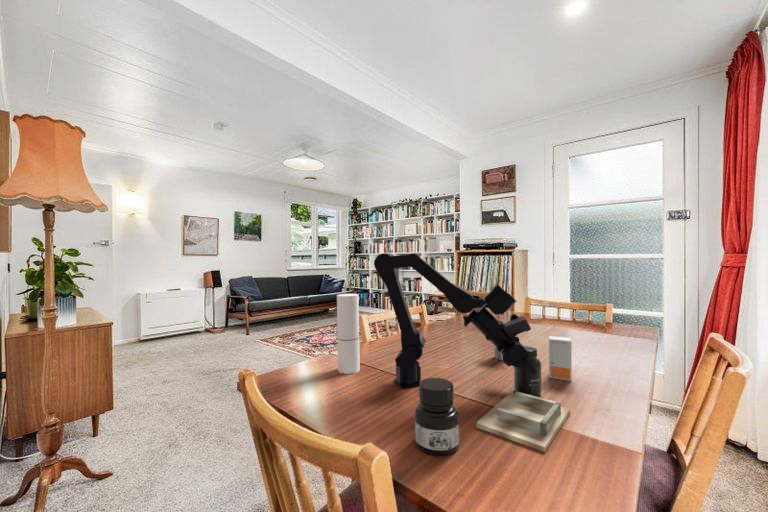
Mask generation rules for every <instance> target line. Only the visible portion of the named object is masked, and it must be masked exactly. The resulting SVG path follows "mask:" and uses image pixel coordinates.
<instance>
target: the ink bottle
mask: <svg viewBox="0 0 768 512" xmlns="http://www.w3.org/2000/svg"><path fill="white" fill-rule="evenodd" d="M418 391H419V392H418V393H419V395H418V396H419V403H418V404H417V406H415V409H414V441H415V445H416V446H417V447H418V449H419V450H420V451H422V452H424V453H427V454H430V455H437V456H445V455H451V454H453V453H455V452H456V451H457V450H459V449H458V448H459V446H460V414H459V411H458V409H457V408H456V406H455V405H454V384H453V382H451V381H450V380H449V379H445V378H441V377H428V378H424V379H421V380H420V382H419V388H418Z"/></svg>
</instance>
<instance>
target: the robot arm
mask: <svg viewBox="0 0 768 512" xmlns="http://www.w3.org/2000/svg"><path fill="white" fill-rule="evenodd" d="M373 265H374V269H375V270H376V272H377V274H378V276H379V277H380V279H381V280H382V282H383V284H385V287H386V290H387V293H388V296H389V299H390V302H391V306H392V308H393V311H394V314H395V317H396V320H397V323H398V326H399V330H400V343H401V349H400V351H399V352H398V354H397V355H396V357H395V376H396V377H395V378H394V379H393V381H394V382H395V383H396V384H397V385H398V386H399V387H400V388H401V389H407V388H412V387H417V386H419V382H421V380H422V377H421V376H422V371H421V370H422V368H421V366H420V362H419V361H418V360H420V359H421V357H422V356H423V354H424V350H425V347H426V342H427V340H426V339H425V337H424V332H423V329H422V328H420V329H417V328H416V326H415V324H414V322H413V318H412V316H411V313H410V310H409V307H408V302H407V300H406V297H405V293H404V291H403V288H402V286H401V285H402V284H401V282H400V271H399V269H402V268H412V269H413V270H415V271H416V272H417V273H418V274H419V275H420V276H422V277H423V278H424V279H426V280H427V282H429V283H430V284H432V286H434V287H435V288H436V289H437V290H438V291H440V292H441V293H442V294H443V295H444V297H445V298H446V300H448V302H449V303H450V304H451V305H452V307H453V308H454V309H455V310H456V312H458V313H460V314H464V315H463V316H462V317H463V318H462V319H463V326H464V327H467V326H469V325H470V323H471V324H472V325H473V326H474V327H475V328H476V329H477V330H478V331H479V332H480V333H481V334H482V335H483V336H484V337H485V340H487V341H489V342H490V343H492V346H493V345H494V346H495V347H496V348H497V350H498V351H499V352H500V351H501V350H503V351H502V352H501V358H502V360H501V361H502V362H503V363H504V364H505V365H506V366H507V367H513V368H514V367H517V368H519V369H522V370H524V371H527V372H529V373H532V374H536V373H537V371H536V369H535V368H534V367H533V365H532V364H531V363H530V361H529V360H528V358H527V357H526V351H527V350H526V348H525V347H524V346H525V345H523V344H522V343H521V342H520V338H519V336H517V335H519V334H521V333H525V332H529V331H531V330H532V328H531V326H530V323H529V322H528V319H527V318H526V317H525V316H524V315H520V316H519V315H517V314H516V313H512V314H511V315H509V320H507V322H503V321H502V320H498V319H497V318H496V317H495V316H497V315H498V316H499V315H501V316H503V315H504V314H505V313H506V312H507V311H508V310H509V309H510V308H512V307H513V306H514V305H515V304H516V303H517V300H516V298H514V297H513V296H512V295H511V294H510V293H509V292H508V291H506V290H505V289H503V288H502V287H501V286H500V285H499V284H495V285H494V287H493V288H491V290H490V291H489V292H488V293H487V294H486V295H485V296H482V295H475V294H472V293H471V292H470V291H468V290H466V289H465V288H463V287H461V286H460V285H457V284H455V283H454V282H452V281H450V280H449V279H448V278H446V277H445V276H444V275H443V274H442V273H441V272H439V271H438V270H437V269H436V268H434V267H433V266H432V265H430V264H429V263H428V262H427V261H426V260H425V259H424V258H422V256H420V254H418V253H415V252H414V253H410V254H403V255H394V254H392V253H388V252H387V253H385V252H384V253H380V254H378V255H377V256H376V257H375V259H374V260H373ZM488 309H489V310H490V311H491V312H490V311H489V310H488ZM468 313H469V314H468ZM492 313H493V314H492ZM465 314H467V315H465Z"/></svg>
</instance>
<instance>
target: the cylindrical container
mask: <svg viewBox="0 0 768 512" xmlns="http://www.w3.org/2000/svg"><path fill="white" fill-rule="evenodd" d="M359 299H360V298H359V294H357V293H340V294H336V318H337V319H336V320H337V322H336V323H337V324H336V325H337V372H338V371H339V372H338V373H340V374H342V373H344V374H343V375H351V373H353V374H356V373H358V372H359V371H360V369H361V367H360V366H361V365H360V364H361V361H360V360H361V358H360V308H359V307H360V306H359V301H360V300H359Z"/></svg>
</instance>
